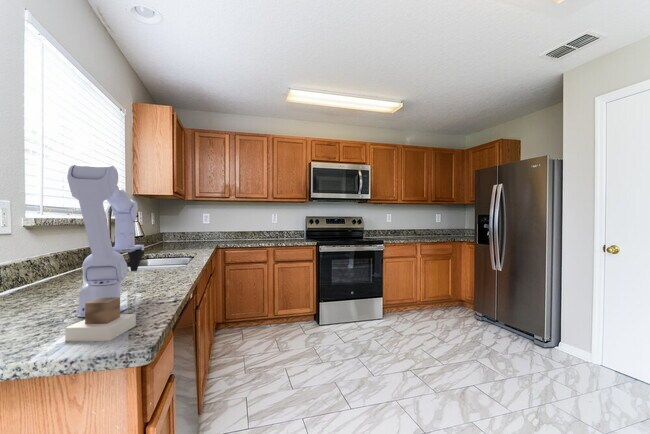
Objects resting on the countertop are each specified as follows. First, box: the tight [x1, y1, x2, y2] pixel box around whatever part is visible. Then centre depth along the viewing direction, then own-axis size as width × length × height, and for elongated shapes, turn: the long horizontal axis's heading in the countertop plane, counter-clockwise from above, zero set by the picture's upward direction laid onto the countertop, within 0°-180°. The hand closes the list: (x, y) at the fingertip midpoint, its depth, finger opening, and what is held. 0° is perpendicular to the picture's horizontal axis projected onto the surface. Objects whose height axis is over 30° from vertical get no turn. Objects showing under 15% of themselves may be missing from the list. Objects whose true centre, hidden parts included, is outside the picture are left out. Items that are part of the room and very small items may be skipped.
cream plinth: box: [64, 313, 137, 342], centre depth 74 cm, size 10×10×4 cm
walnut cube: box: [84, 296, 121, 324], centre depth 74 cm, size 5×5×5 cm
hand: (124, 272), depth 105 cm, fingers open, 7 cm apart
